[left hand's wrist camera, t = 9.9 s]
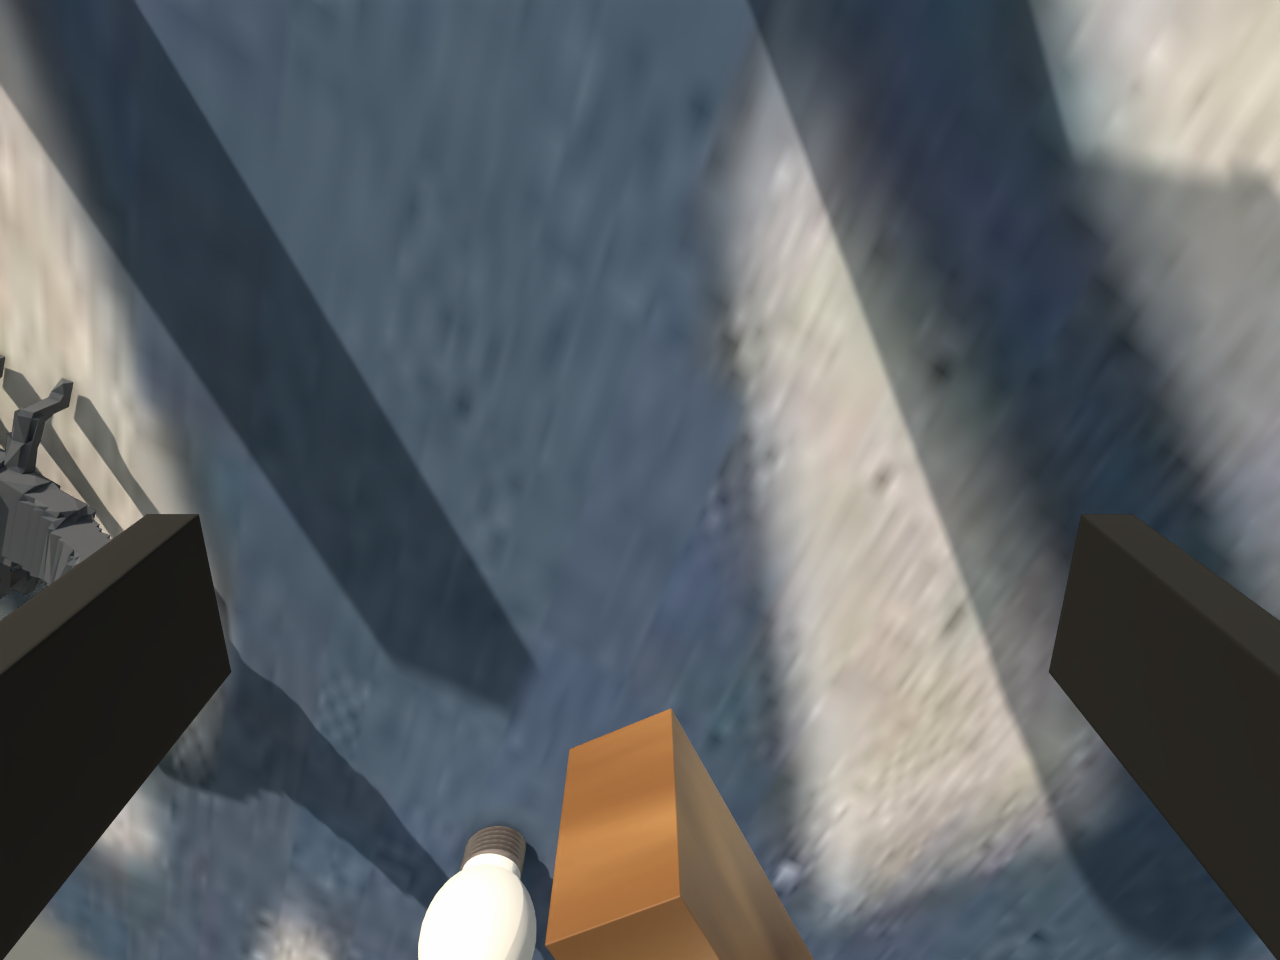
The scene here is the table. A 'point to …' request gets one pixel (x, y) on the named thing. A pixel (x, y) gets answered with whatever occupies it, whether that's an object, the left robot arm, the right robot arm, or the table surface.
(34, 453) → the toy
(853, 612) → the table surface
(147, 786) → the table surface
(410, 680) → the table surface
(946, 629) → the table surface
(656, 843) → the bar
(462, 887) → the light bulb
